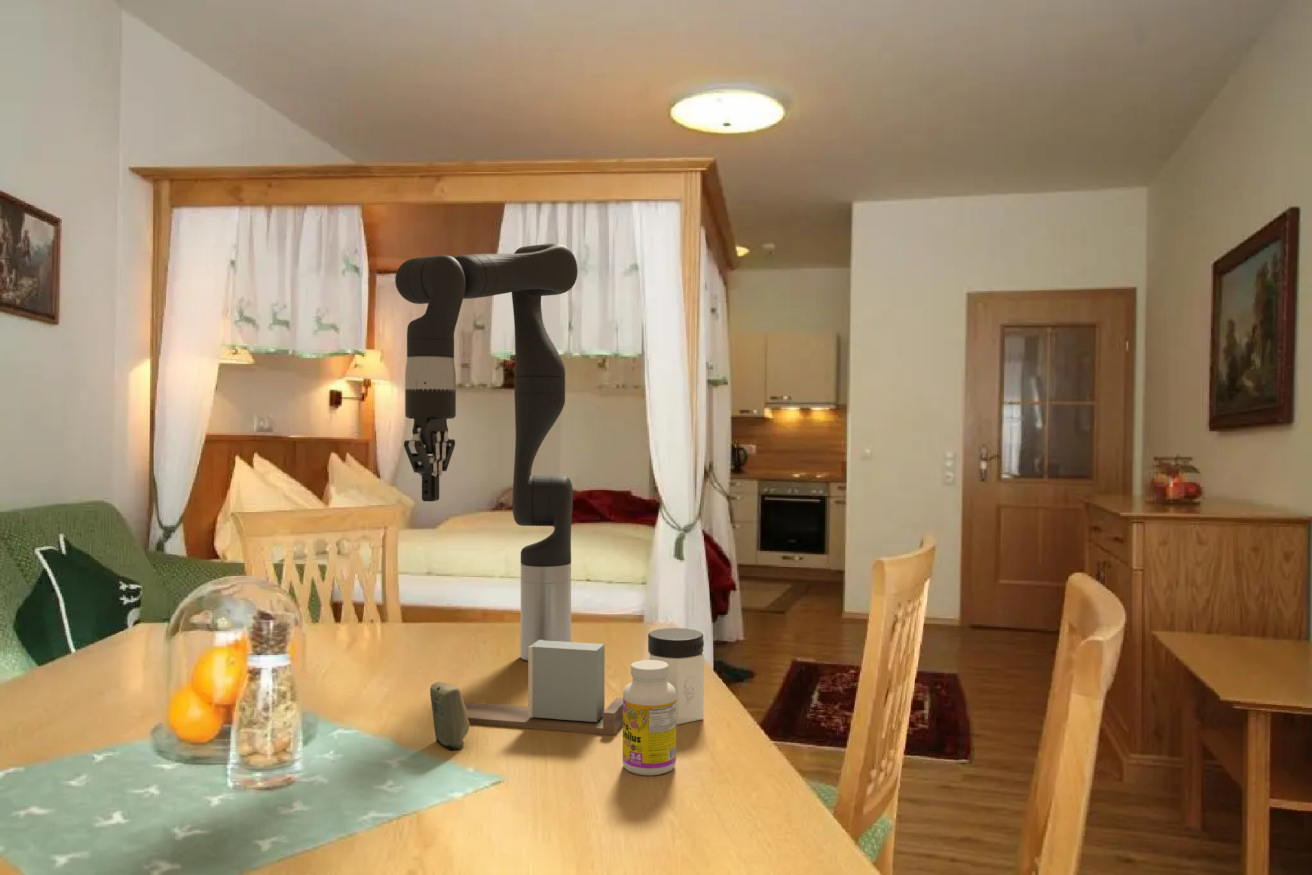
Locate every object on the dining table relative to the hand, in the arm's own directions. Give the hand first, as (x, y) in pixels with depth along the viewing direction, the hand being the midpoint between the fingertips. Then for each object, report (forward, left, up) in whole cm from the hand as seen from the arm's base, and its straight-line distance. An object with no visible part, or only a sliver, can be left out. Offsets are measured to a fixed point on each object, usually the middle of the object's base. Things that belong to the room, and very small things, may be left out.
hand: (430, 500), depth 142 cm
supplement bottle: (+19, +39, -31) cm, 53 cm away
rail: (+5, +18, -31) cm, 36 cm away
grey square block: (+5, +24, -30) cm, 38 cm away
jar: (-2, +38, -31) cm, 49 cm away
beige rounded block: (+17, +11, -31) cm, 37 cm away
